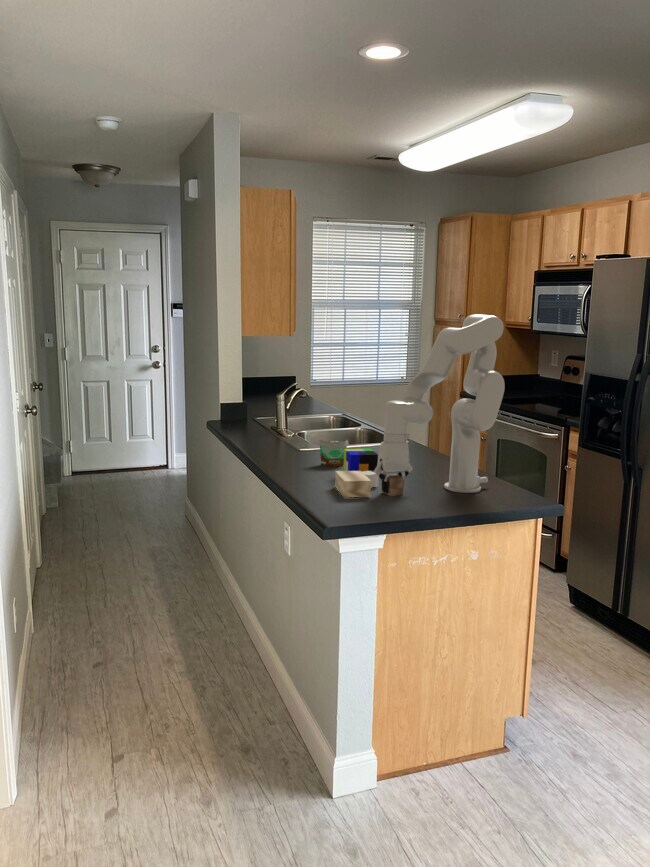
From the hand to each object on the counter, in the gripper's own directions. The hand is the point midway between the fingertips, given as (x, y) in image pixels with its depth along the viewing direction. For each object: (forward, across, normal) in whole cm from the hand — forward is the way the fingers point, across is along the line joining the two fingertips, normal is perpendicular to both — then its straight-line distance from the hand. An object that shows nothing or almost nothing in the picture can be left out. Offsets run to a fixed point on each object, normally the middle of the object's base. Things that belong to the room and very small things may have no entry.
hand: (392, 490), depth 240 cm
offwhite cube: (+1, +3, -11) cm, 11 cm away
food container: (+1, -1, -43) cm, 43 cm away
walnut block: (+1, 0, 0) cm, 1 cm away
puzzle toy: (+1, 0, -22) cm, 22 cm away
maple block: (+1, +12, -6) cm, 13 cm away
